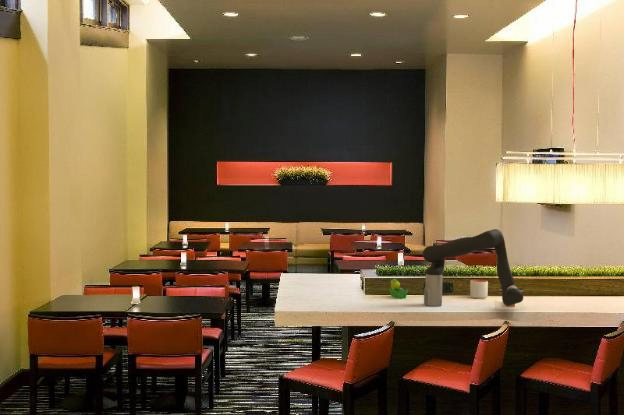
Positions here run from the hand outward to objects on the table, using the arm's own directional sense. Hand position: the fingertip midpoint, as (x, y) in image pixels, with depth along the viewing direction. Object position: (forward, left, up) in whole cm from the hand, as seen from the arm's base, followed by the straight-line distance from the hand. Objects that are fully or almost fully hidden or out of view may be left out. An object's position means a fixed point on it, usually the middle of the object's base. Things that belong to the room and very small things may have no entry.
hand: (510, 287), depth 450 cm
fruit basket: (-52, +40, -11) cm, 67 cm away
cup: (-4, +33, -11) cm, 36 cm away
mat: (+1, +3, -11) cm, 12 cm away
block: (-1, -1, -8) cm, 8 cm away
